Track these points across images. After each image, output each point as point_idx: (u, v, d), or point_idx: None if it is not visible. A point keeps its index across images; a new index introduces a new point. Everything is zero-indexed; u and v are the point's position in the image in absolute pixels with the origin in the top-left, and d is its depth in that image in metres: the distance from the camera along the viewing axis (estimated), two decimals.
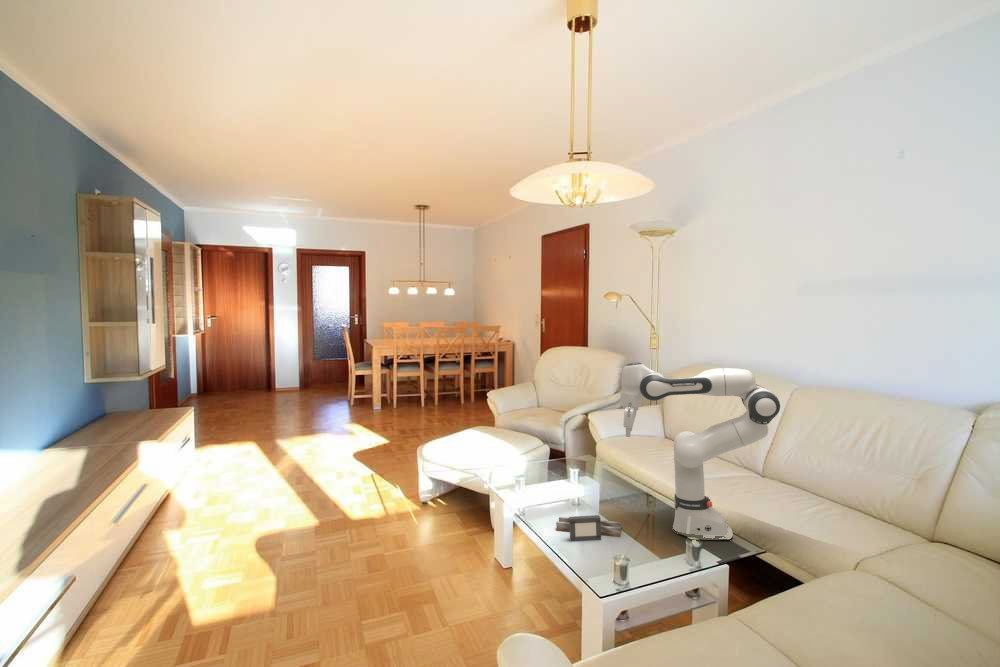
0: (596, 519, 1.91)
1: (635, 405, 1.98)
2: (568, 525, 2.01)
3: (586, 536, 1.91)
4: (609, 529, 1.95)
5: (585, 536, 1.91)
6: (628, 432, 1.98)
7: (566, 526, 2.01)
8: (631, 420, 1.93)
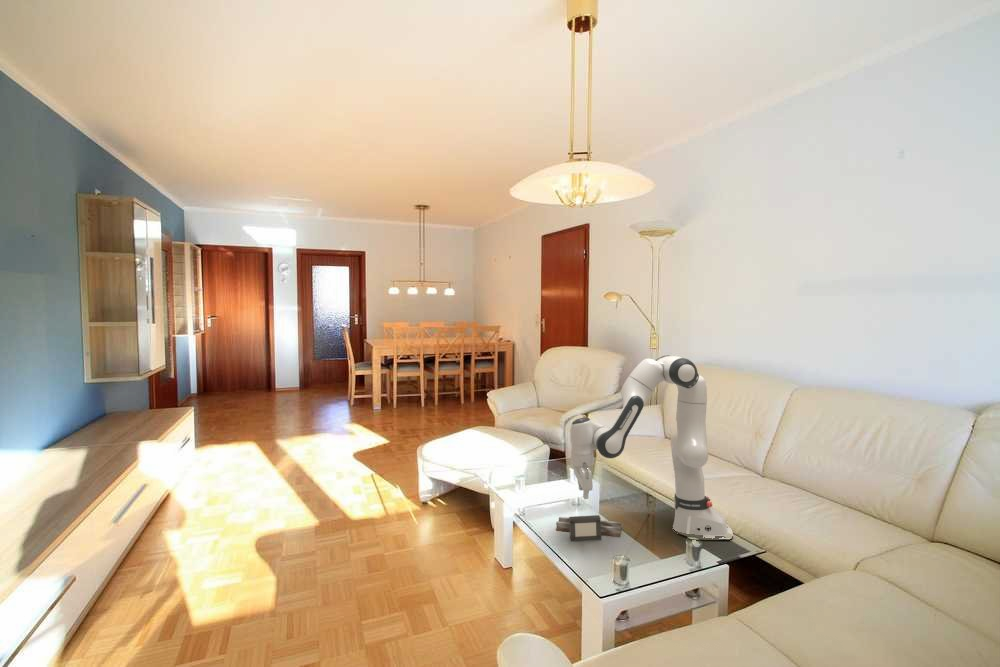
0: (596, 519, 1.91)
1: (589, 464, 1.88)
2: (568, 525, 2.01)
3: (586, 536, 1.91)
4: (609, 529, 1.95)
5: (585, 536, 1.91)
6: (586, 494, 1.86)
7: (566, 526, 2.01)
8: (591, 482, 1.82)
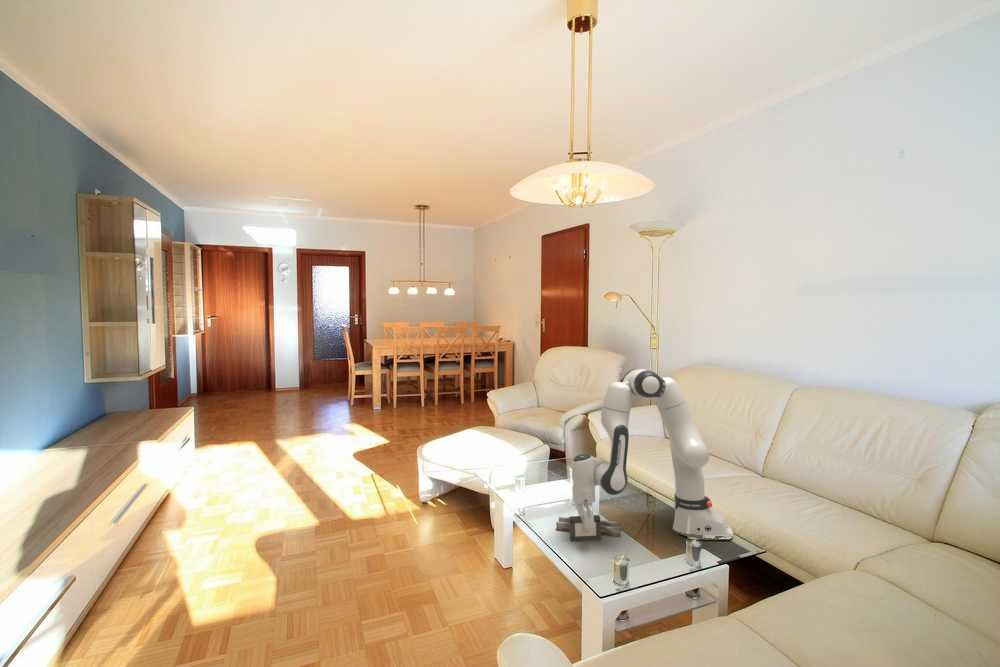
0: (596, 519, 1.91)
1: (591, 501, 1.88)
2: (568, 525, 2.01)
3: (586, 536, 1.91)
4: (609, 529, 1.95)
5: (584, 536, 1.91)
6: None
7: (566, 526, 2.01)
8: (592, 520, 1.82)
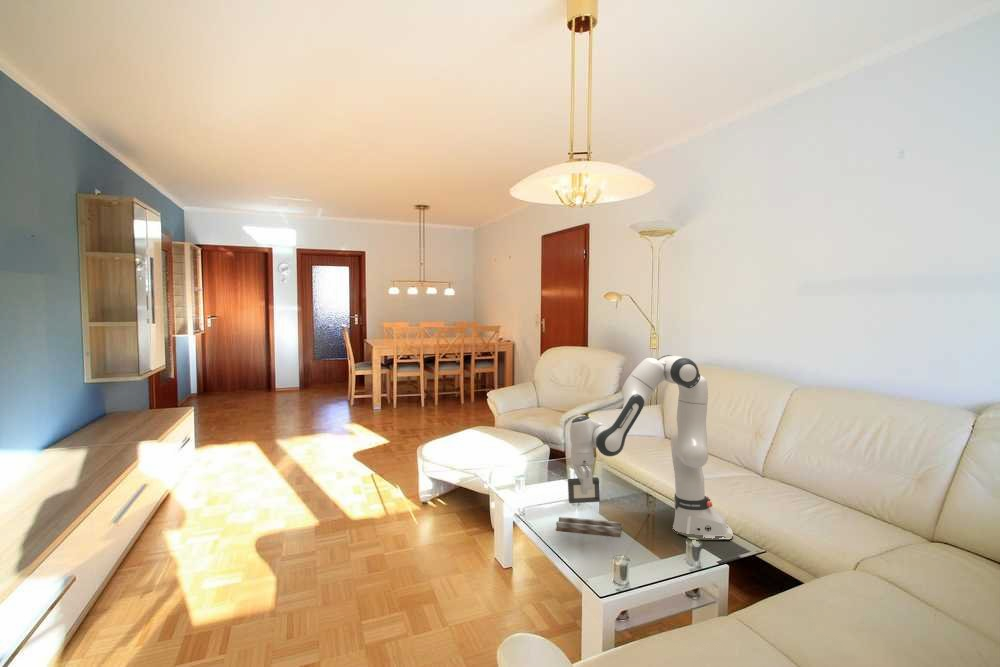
0: (595, 481, 1.91)
1: (589, 462, 1.88)
2: (568, 525, 2.01)
3: (585, 498, 1.91)
4: (609, 529, 1.95)
5: (583, 498, 1.91)
6: (585, 489, 1.89)
7: (566, 526, 2.01)
8: (591, 480, 1.82)
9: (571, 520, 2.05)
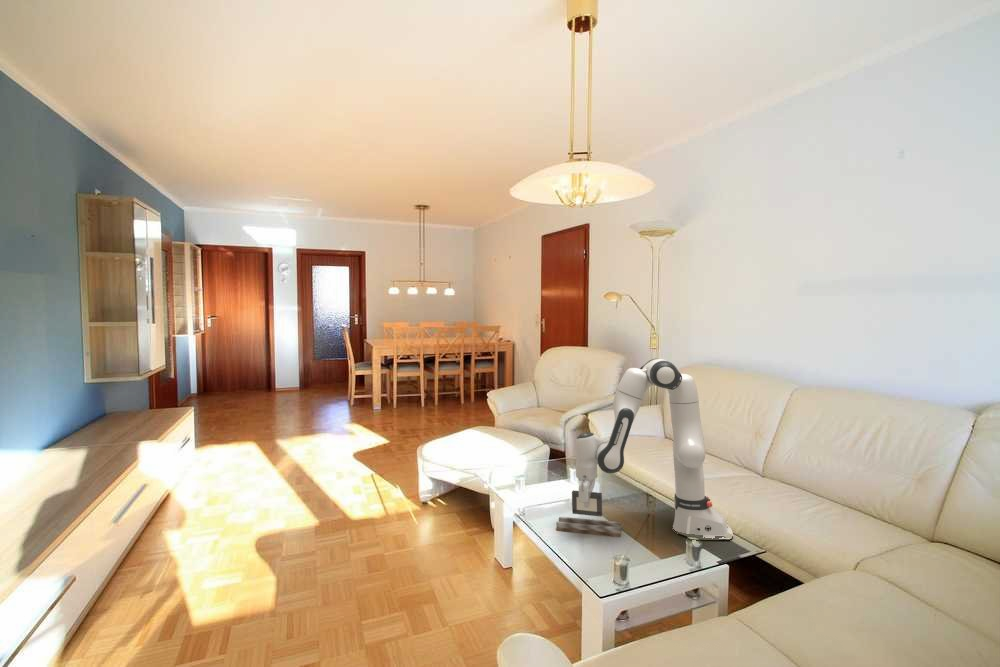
0: (597, 496, 1.98)
1: (590, 478, 1.96)
2: (568, 525, 2.01)
3: (587, 511, 2.00)
4: (609, 529, 1.95)
5: (585, 510, 2.00)
6: (586, 503, 1.98)
7: (566, 526, 2.01)
8: (585, 495, 1.91)
9: (571, 520, 2.05)
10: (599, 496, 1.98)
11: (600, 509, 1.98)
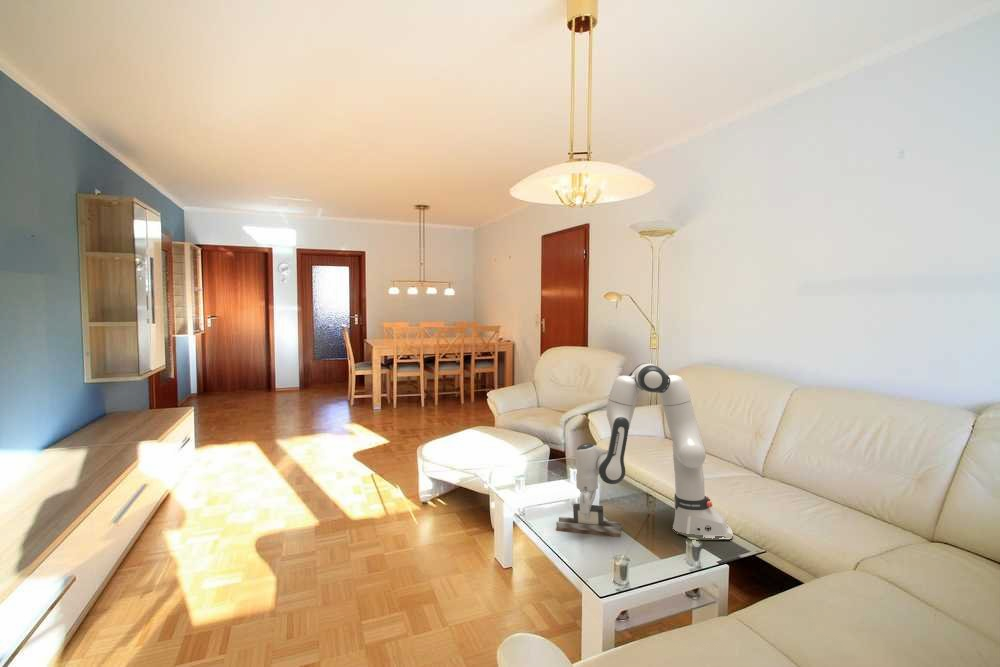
0: (598, 509, 1.98)
1: (590, 489, 1.96)
2: (568, 525, 2.01)
3: None
4: (609, 529, 1.95)
5: None
6: (587, 515, 1.97)
7: (566, 526, 2.01)
8: (587, 506, 1.91)
9: (571, 520, 2.05)
10: (600, 509, 1.98)
11: (601, 522, 1.98)
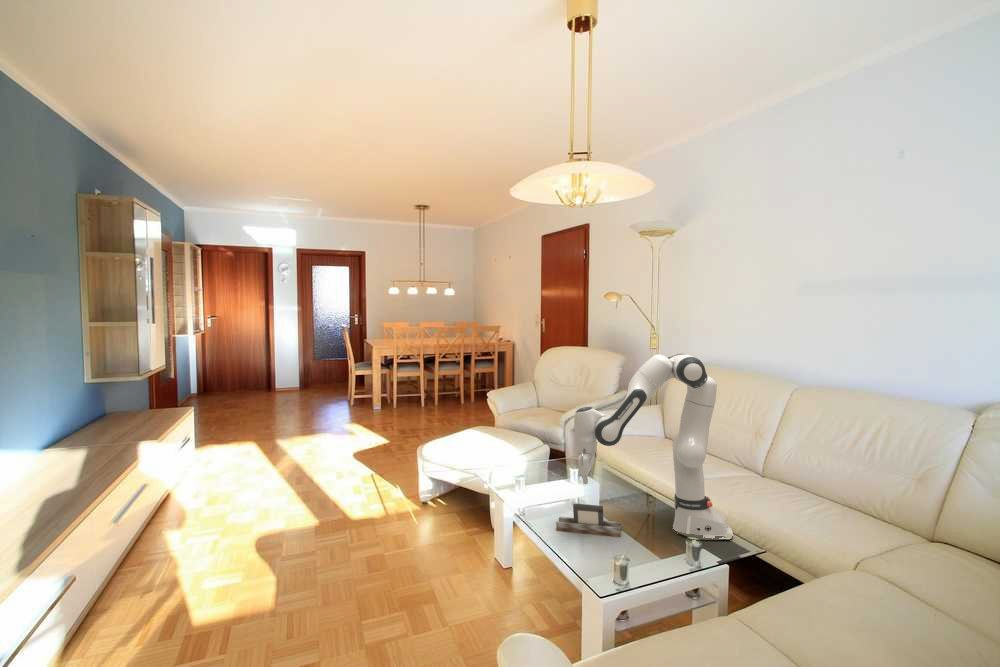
0: (598, 509, 1.98)
1: (589, 451, 1.96)
2: (568, 525, 2.01)
3: None
4: (609, 529, 1.95)
5: None
6: (585, 479, 1.95)
7: (566, 526, 2.01)
8: (585, 468, 1.91)
9: (571, 520, 2.05)
10: (600, 509, 1.98)
11: (601, 522, 1.98)
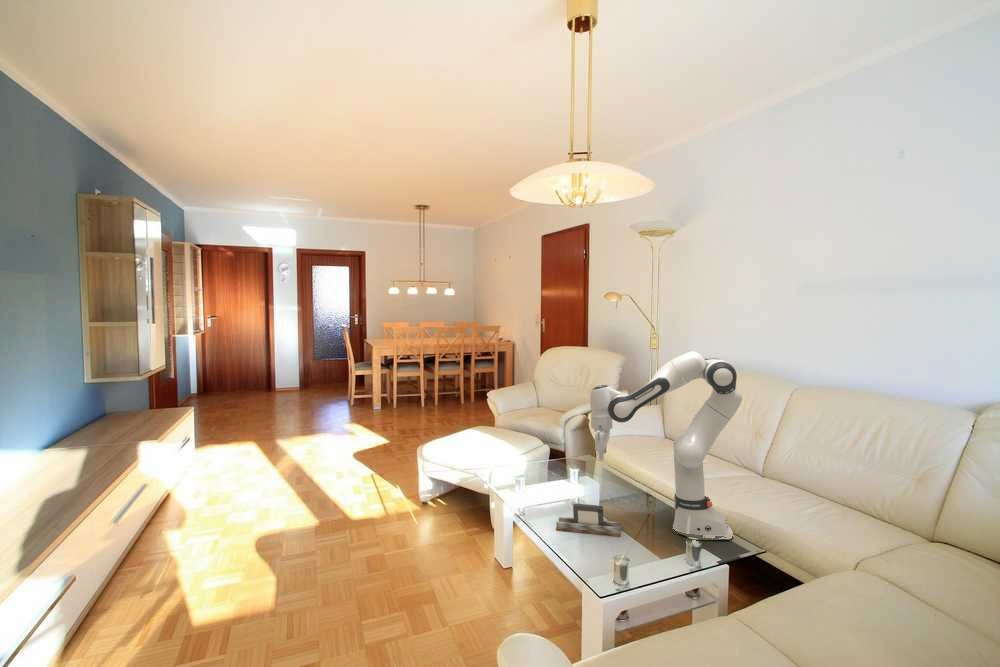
0: (598, 509, 1.98)
1: (605, 428, 2.00)
2: (568, 525, 2.01)
3: None
4: (609, 529, 1.95)
5: None
6: (601, 455, 1.99)
7: (566, 526, 2.01)
8: (602, 443, 1.95)
9: (571, 520, 2.05)
10: (600, 509, 1.98)
11: (601, 522, 1.98)
